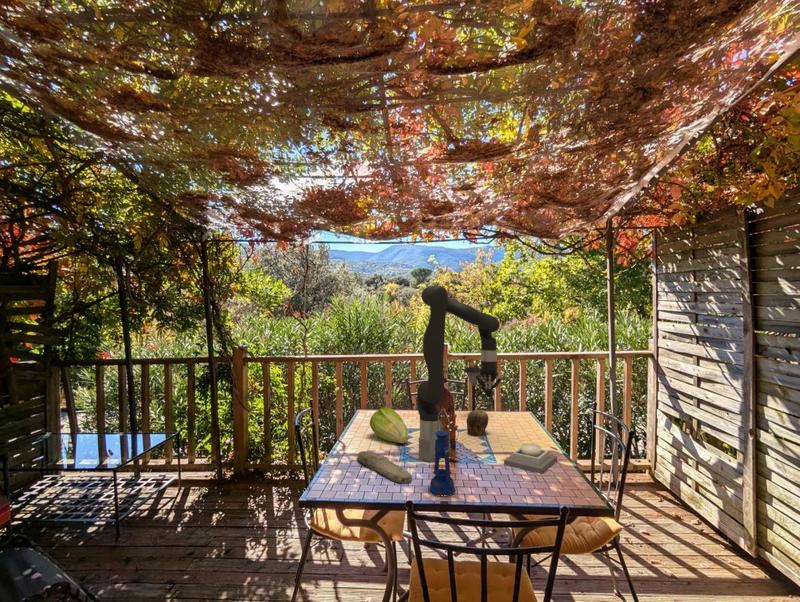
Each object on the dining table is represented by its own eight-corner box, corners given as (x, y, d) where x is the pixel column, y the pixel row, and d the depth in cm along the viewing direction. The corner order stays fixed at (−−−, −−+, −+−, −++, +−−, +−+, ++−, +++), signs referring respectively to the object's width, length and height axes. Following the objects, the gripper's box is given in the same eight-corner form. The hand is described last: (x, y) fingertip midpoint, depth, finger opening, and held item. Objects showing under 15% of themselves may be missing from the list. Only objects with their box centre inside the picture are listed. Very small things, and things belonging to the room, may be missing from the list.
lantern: (424, 487, 169) (424, 406, 168) (447, 483, 172) (446, 404, 172) (436, 499, 159) (436, 413, 159) (460, 494, 162) (460, 411, 162)
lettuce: (416, 451, 222) (387, 461, 214) (392, 422, 241) (365, 431, 233) (418, 426, 216) (389, 436, 208) (393, 399, 235) (366, 407, 228)
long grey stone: (397, 491, 169) (418, 485, 175) (398, 477, 169) (419, 472, 175) (350, 458, 198) (369, 455, 204) (351, 446, 198) (370, 443, 203)
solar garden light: (481, 417, 263) (481, 365, 263) (487, 423, 251) (487, 369, 250) (460, 418, 262) (460, 366, 262) (465, 424, 250) (465, 369, 250)
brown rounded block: (488, 437, 227) (488, 413, 226) (466, 436, 228) (466, 412, 228) (488, 431, 237) (487, 408, 237) (466, 430, 239) (466, 407, 239)
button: (536, 458, 187) (536, 451, 187) (518, 454, 192) (518, 447, 192) (543, 452, 193) (543, 445, 193) (525, 449, 198) (525, 442, 198)
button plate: (541, 473, 181) (541, 462, 181) (504, 464, 191) (504, 454, 190) (557, 460, 195) (556, 450, 195) (521, 452, 205) (521, 442, 205)
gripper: (505, 359, 210) (505, 397, 211) (479, 357, 218) (479, 393, 219) (499, 361, 204) (499, 400, 205) (472, 359, 212) (472, 396, 212)
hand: (489, 396), depth 212 cm, fingers closed
